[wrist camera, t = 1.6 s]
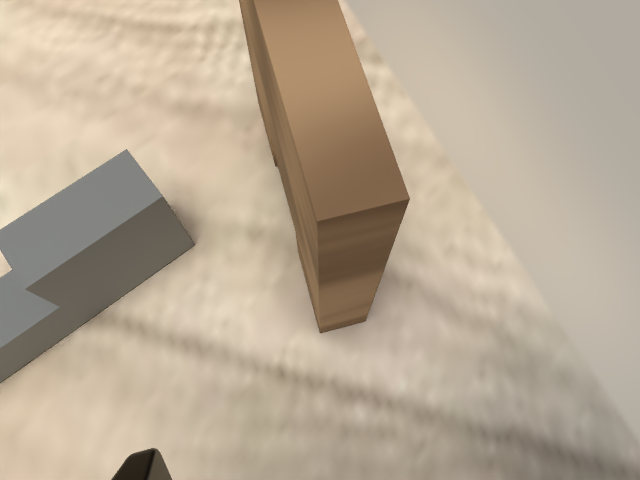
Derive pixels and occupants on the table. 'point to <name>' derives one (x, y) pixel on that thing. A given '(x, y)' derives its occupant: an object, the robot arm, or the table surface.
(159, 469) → the robot arm
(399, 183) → the walnut plate
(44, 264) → the charcoal rail
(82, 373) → the table surface
